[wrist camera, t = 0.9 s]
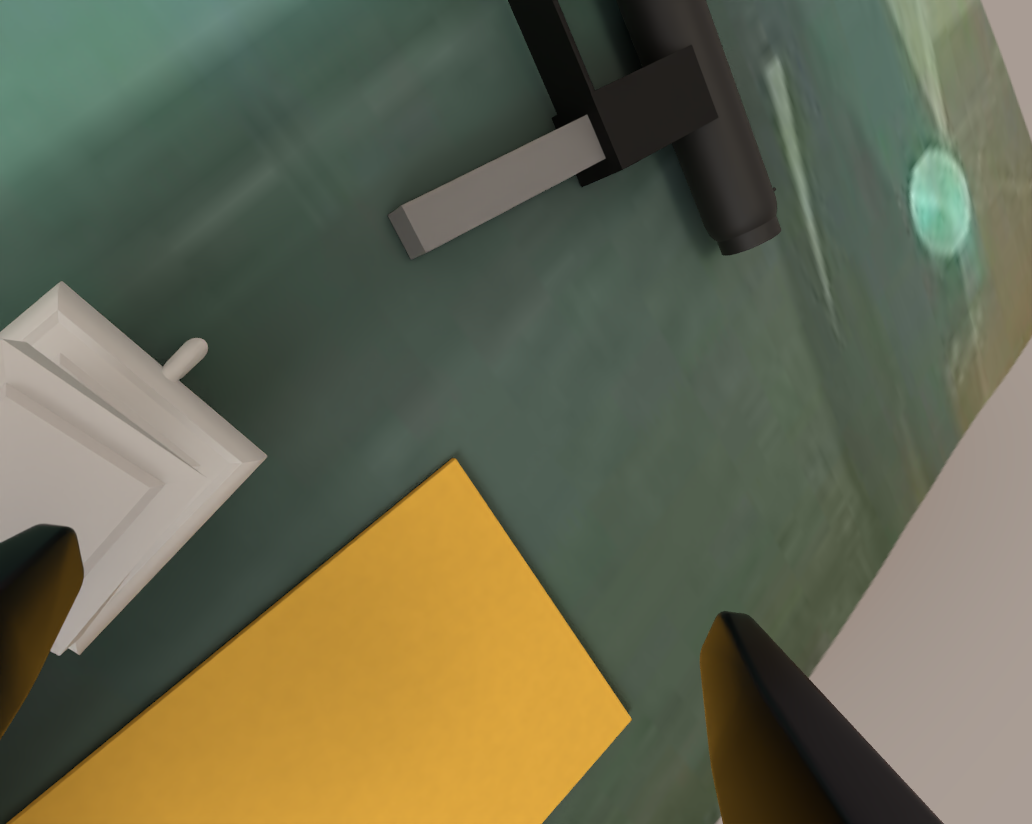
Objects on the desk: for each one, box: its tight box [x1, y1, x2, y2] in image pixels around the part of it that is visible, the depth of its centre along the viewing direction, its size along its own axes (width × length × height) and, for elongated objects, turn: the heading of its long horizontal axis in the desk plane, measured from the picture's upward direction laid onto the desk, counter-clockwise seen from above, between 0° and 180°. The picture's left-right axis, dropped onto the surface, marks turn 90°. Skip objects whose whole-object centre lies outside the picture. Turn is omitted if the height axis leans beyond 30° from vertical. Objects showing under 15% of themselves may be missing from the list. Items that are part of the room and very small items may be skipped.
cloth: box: [6, 458, 632, 824], centre depth 23 cm, size 20×14×1 cm
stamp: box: [0, 281, 267, 656], centre depth 16 cm, size 9×7×8 cm
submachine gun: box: [388, 0, 781, 259], centre depth 25 cm, size 3×20×16 cm
